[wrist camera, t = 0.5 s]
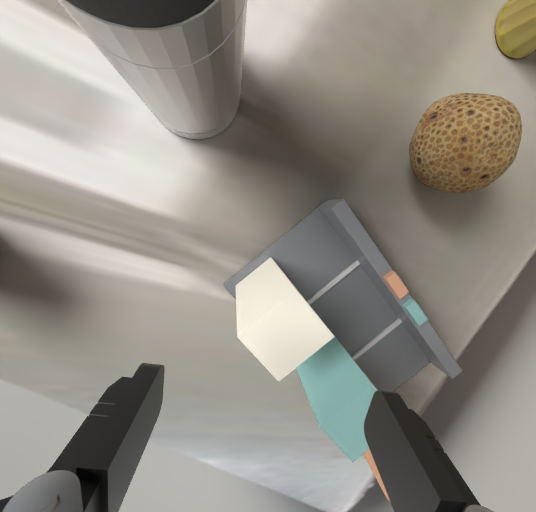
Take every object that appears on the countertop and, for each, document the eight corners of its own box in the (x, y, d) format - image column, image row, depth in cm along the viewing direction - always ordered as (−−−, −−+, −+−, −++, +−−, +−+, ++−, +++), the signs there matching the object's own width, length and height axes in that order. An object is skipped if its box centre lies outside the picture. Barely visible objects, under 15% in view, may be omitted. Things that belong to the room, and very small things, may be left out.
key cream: (259, 315, 30) (276, 383, 19) (234, 286, 29) (235, 338, 18) (295, 286, 30) (334, 336, 18) (270, 256, 29) (296, 289, 17)
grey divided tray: (345, 419, 36) (365, 456, 30) (224, 283, 30) (222, 299, 25) (432, 349, 36) (467, 374, 30) (326, 200, 30) (346, 198, 25)
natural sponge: (379, 123, 29) (451, 81, 20) (451, 104, 30) (556, 54, 20) (392, 203, 31) (464, 201, 22) (460, 184, 32) (560, 173, 22)
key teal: (308, 370, 32) (351, 463, 21) (285, 345, 31) (317, 427, 20) (341, 344, 32) (403, 421, 21) (320, 318, 31) (372, 383, 20)
